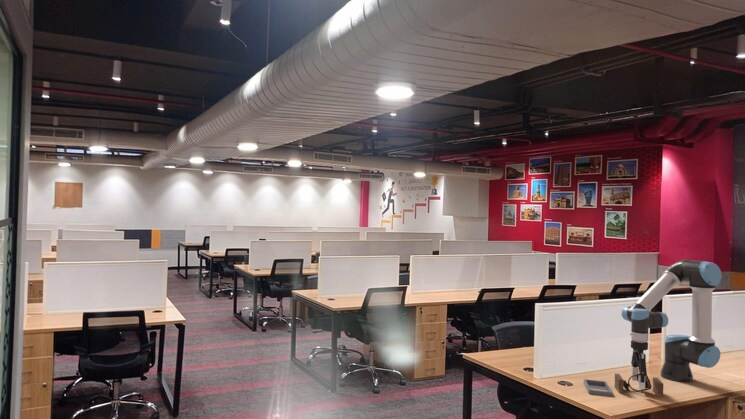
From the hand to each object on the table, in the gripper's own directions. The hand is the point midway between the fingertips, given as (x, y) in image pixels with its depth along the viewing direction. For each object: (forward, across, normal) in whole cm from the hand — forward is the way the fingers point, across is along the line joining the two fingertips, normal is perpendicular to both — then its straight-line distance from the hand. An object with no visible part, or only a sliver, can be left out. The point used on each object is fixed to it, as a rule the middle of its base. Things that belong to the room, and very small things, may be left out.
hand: (638, 384), depth 252 cm
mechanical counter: (+4, 0, 0) cm, 4 cm away
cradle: (+4, 0, 0) cm, 4 cm away
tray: (+4, +3, -19) cm, 20 cm away
